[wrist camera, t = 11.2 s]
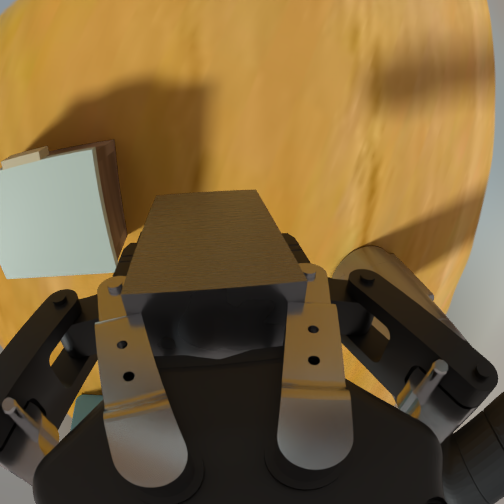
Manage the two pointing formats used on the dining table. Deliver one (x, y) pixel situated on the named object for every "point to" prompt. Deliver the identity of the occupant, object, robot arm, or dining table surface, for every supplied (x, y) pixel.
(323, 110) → the dining table surface
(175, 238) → the block
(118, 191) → the walnut box
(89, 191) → the box lid
